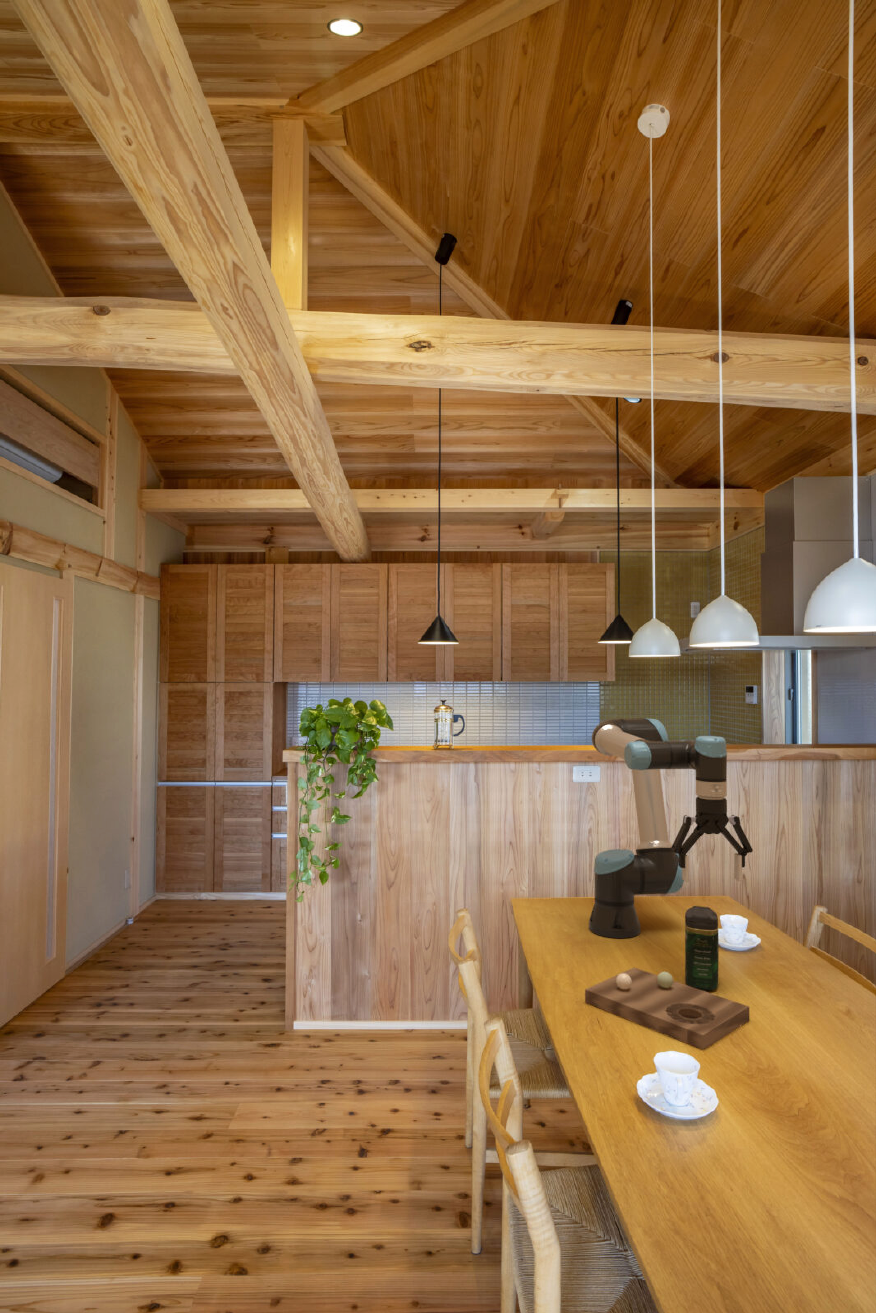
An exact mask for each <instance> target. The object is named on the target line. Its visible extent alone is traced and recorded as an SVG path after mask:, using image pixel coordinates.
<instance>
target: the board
mask: <svg viewBox="0 0 876 1313" xmlns="http://www.w3.org/2000/svg"><path fill="white" fill-rule="evenodd" d="M621 973H625V974H628V975H629V976H630V978H631V980H632V985H631V987H630V988H629V989H627V990H623V989H620V988H619V987H618V986H617V983H616V978H617V976H618V975H619V974H621ZM621 973H619V974H616V975H614V976H612V977H609V978H607V979H605V980H603V981H601V982H598V983H597V984H594V985H592V986H589V987H587V988H586V989H584V1003H585V1004H588V1005H591V1006H594V1007H596V1008H598V1009H600V1010H603V1011H606V1012H607V1013H610V1012H611V1013H610V1014H612V1015H616V1016H618V1017H620V1016H621V1017H620V1018H623V1017H624V1018H623V1019H625V1018H626V1019H625V1020H627V1019H628V1020H627V1021H630V1022H632V1021H633V1023H636V1024H638V1025H640V1026H642V1025H643V1026H642V1027H645V1026H646V1027H645V1028H647V1027H648V1028H647V1029H650V1030H653V1031H655V1032H657V1031H658V1033H661V1034H662V1035H665V1034H666V1035H665V1036H667V1035H668V1036H667V1037H671V1038H673V1039H675V1040H678V1041H679V1042H683V1043H685V1044H687V1045H689V1046H692V1047H695V1048H697V1049H699V1050H702V1051H705V1050H706V1049H707V1048H709V1047H710V1046H712V1045H714V1044H715V1043H717V1042H718V1041H720V1040H721V1039H723V1038H724V1037H726V1036H728V1035H729V1034H731V1033H732V1032H733V1031H735V1030H737V1029H738V1028H740V1027H741V1026H743V1025H745V1024H746V1023H748V1022H749V1021H750V1006H749V1005H745V1004H743V1003H739V1002H737V1001H734V1000H732V999H728V998H726V997H722V996H720V995H716V994H714V993H710V992H707V991H702V990H699V989H696V988H693V987H690V986H687V984H685V983H681V982H678V981H676V980H675V981H674V980H673V984H672V986H671V987H669V988H663V987H661V986H660V985H659V984H658V981H657V977H658V975H659V974H654V973H652V972H649V971H646V970H643V969H639V968H637V967H632V968H629V969H627V970H625V971H623V972H621ZM740 1025H741V1026H740Z"/></svg>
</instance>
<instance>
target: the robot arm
mask: <svg viewBox="0 0 876 1313" xmlns="http://www.w3.org/2000/svg"><path fill="white" fill-rule="evenodd" d="M591 743H592V746H593V747H594V749H595V750H596V751H597V752H598V753H600V754H602V755H605V756H615V757H617V758H618V759H619V758H620V759H622V760H624V762H625V764H626V766H627V768H628V769H629V770H631V774H632V783H633V784H632V785H633V792H634V801H635V810H636V818H637V825H638V835H639V845H638V846H637V847H636V848H635V854H634V852H633V851H632V850H630V849H628V848H627V849H626V848H623V849H622V848H621V849H620V848H615V849H613V848H612V849H608V850H604V851H601V852H599V853H598V854H597V855H596V856H595V858H594V868H593V872H594V904H593V907H592V910H591V912H590V916H589V919H588V929H589V931H590V932H591V933H594V934H596V935H597V936H601V937H605V938H613V939H628V938H633V937H637V936H639V935H640V934H641V923H640V920H639V916H638V913H637V910H636V907H635V896H636V895H638V896H639V895H641V896H642V895H643V896H644V895H667V894H676V893H678V892H679V891H680V890H681V889H682V888H683V884H684V883H685V882H686V883H690V859H689V858H690V856H689V855H688V852H689V851H690V850H691V849H692V847H693V846H694V845H695V843H697V841H698V840H699V839H700V838H701V837H702V836H703V835H704V834H706V835H720V834H722V835H723V837H724V838H725V839H726V840H727V841H728V842H729V844H730V845H731V846H732V847H733V848H734V850H735V851H736V852H737V853H736V852H734V853H733V854H734V855H733V856H734V859H733V860H734V861H733V862H734V866H733V867H734V869H733V871H734V874H733V875H734V880H736V881H737V882H743V868H745V867H746V856H747V855H748V854H749V853H751V854H752V852H754V850H753V848H752V846H751V843H750V841H749V840H748V837H747V835H746V833H745V831H744V830H743V828H742V825H741V820H740V817H739V816H737V815H736V814H732V815H731V816H728V799H727V798H726V797H727V795H728V789H727V788H728V787H727V786H728V784H727V783H728V782H727V781H728V780H727V770H728V768H727V766H728V764H727V762H728V760H727V758H728V751H727V741H726V739H725V738H724V737H722V736H714V735H699V736H697V737H696V738H695V739H682V740H669V735H668V732H667V729H666V727H665V726H664V724H663V723H662V722H661V721H660V720H658V719H656V718H647V717H644V718H611V719H610V718H609V719H607V720H604V721H602V722H600V723H599V724H598V725H596V727H594V729H593V731H592V734H591ZM661 770H695V795H696V796H697V797H695V816H689V815H687V814H685V815H683V816H682V817H683V820H682V824H681V826H680V829H679V831H678V833H677V835H676V837H675V839H674V841H673V843H671V842H670V841H669V840H670V839H669V832H668V831H669V830H668V824H667V817H666V808H665V801H664V793H663V784H662V778H661ZM694 823H695V824H696V826H695V828H694V829H693V831H692V833H690V835H689V836H688V833H689V832H690V829H691V826H693V824H694ZM728 823H730V825H731V826H732V827H733V829H734V830H733V831H735V833H736V835H737V837H738V840H739V841H740V843H741V845H740V843H739V842H738V841H737V840H736V839H735V838H734V836H733V834H731V833H730V831H729V830H728V828H727V827H726V826H727V825H728ZM687 836H688V837H687Z"/></svg>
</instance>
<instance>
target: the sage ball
mask: <svg viewBox="0 0 876 1313" xmlns="http://www.w3.org/2000/svg"><path fill="white" fill-rule="evenodd" d="M657 975H658V977H657V981H658V984H659V985H660V986H661V987H663V988H669V987H671V986H672V984H673V981H674V977H673V976H672V974H670V973H669V972H668V971H661V972H660V973H658V974H657Z"/></svg>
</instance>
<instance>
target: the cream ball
mask: <svg viewBox="0 0 876 1313" xmlns="http://www.w3.org/2000/svg"><path fill="white" fill-rule="evenodd" d="M617 975H618V974H617ZM616 983H617V986H618V987H619V988H620V989H623V990H627V989H629V988H630V987H631V985H632V980H631V978H630V976H629V975H628V974H625V973H623V972H621V974H620V973H619V975H618V976H617V978H616Z"/></svg>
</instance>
